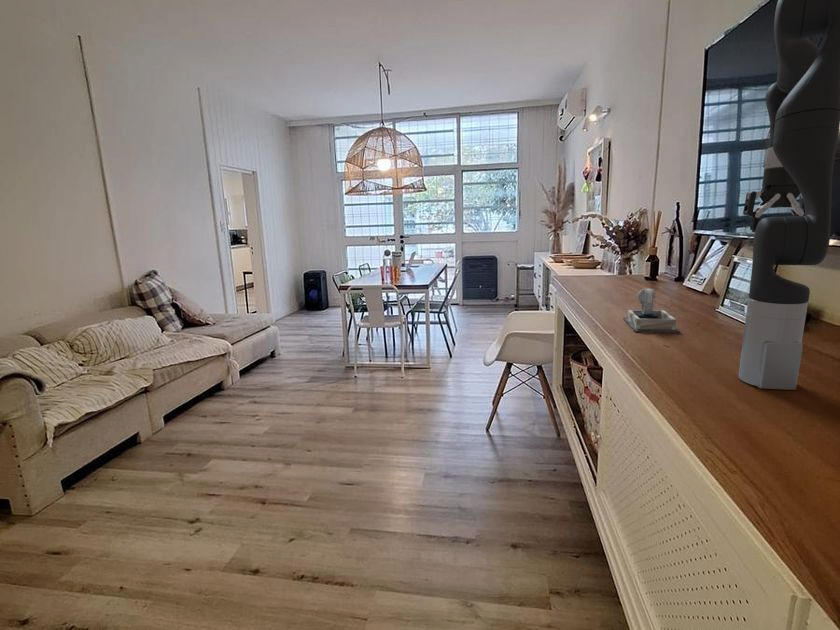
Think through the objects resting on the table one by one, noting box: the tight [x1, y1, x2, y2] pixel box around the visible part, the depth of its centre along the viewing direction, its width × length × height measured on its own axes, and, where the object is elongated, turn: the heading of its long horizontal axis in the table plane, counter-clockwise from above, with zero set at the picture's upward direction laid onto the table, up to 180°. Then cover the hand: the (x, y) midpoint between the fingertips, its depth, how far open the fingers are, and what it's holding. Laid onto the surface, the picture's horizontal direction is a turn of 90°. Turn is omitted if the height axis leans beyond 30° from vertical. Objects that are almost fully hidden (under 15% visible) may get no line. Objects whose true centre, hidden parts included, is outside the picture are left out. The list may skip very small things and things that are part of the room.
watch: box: [636, 287, 658, 319], centre depth 133 cm, size 6×8×11 cm
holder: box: [622, 309, 681, 334], centre depth 134 cm, size 16×12×4 cm
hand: (774, 231), depth 113 cm, fingers open, 8 cm apart
